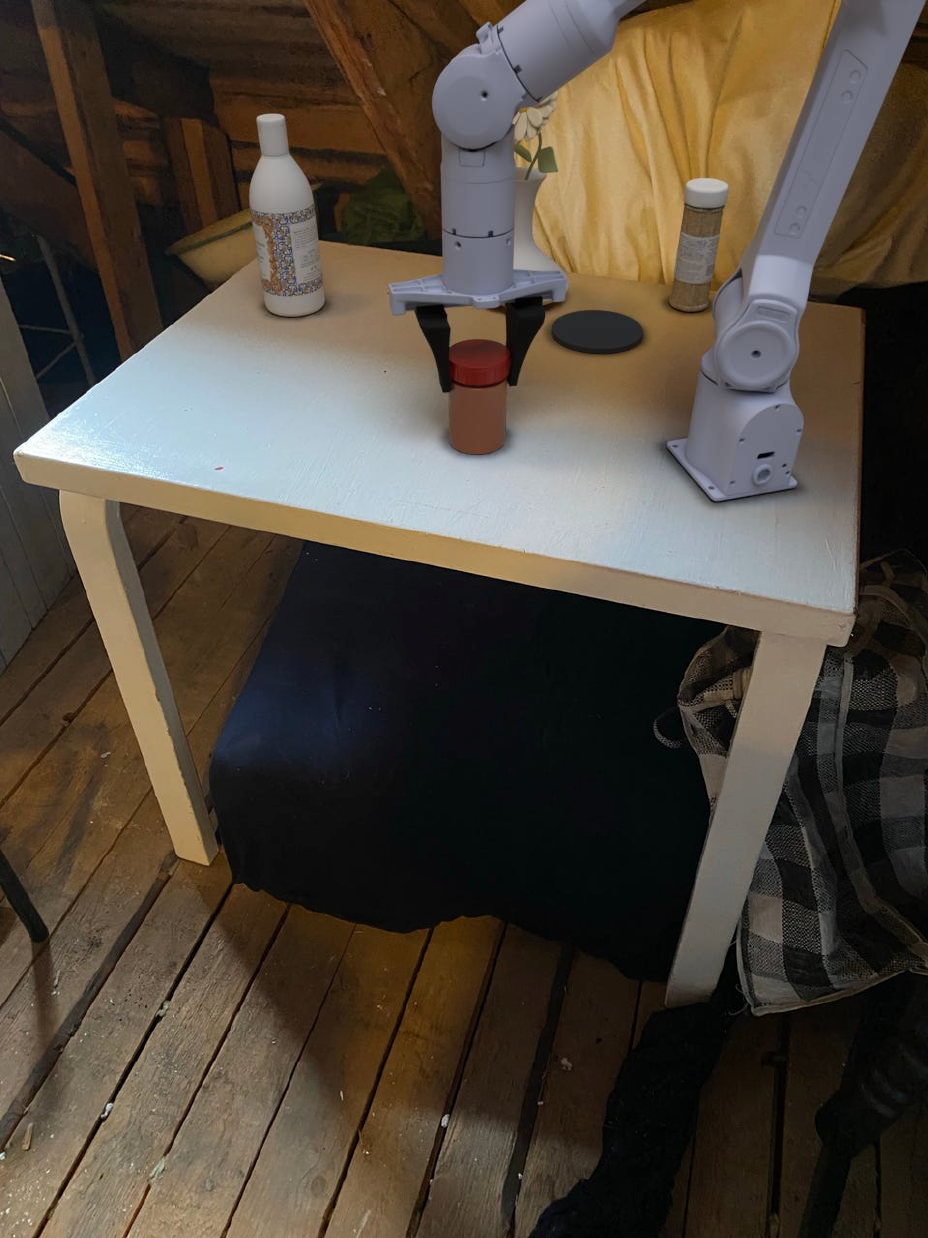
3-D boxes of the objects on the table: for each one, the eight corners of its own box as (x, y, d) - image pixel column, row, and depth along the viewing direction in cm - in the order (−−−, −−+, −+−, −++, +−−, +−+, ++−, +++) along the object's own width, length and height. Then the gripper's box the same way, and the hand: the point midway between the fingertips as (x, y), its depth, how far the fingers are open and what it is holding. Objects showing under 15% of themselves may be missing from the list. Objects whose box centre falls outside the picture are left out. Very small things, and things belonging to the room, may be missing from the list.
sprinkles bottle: (686, 294, 110) (704, 173, 101) (716, 306, 107) (738, 183, 98) (660, 304, 107) (677, 181, 98) (690, 317, 105) (710, 192, 96)
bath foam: (257, 301, 109) (227, 113, 96) (312, 289, 111) (290, 105, 98) (277, 322, 104) (248, 128, 91) (334, 310, 107) (314, 119, 93)
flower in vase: (460, 285, 112) (457, 47, 95) (547, 273, 114) (559, 40, 98) (494, 329, 103) (498, 73, 86) (588, 315, 105) (610, 65, 89)
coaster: (657, 347, 99) (658, 341, 99) (570, 359, 97) (570, 353, 97) (621, 310, 106) (621, 305, 106) (539, 320, 104) (539, 315, 104)
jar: (513, 449, 84) (515, 369, 78) (458, 458, 83) (457, 377, 77) (495, 422, 87) (497, 343, 82) (442, 430, 86) (441, 351, 81)
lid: (444, 357, 82) (443, 339, 81) (506, 354, 83) (506, 337, 82) (448, 387, 78) (447, 369, 77) (513, 384, 78) (514, 366, 77)
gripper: (393, 250, 68) (402, 414, 77) (581, 236, 70) (569, 397, 79) (381, 218, 73) (391, 375, 82) (557, 206, 75) (548, 361, 84)
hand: (477, 384), depth 81 cm, fingers closed on lid, 5 cm apart
